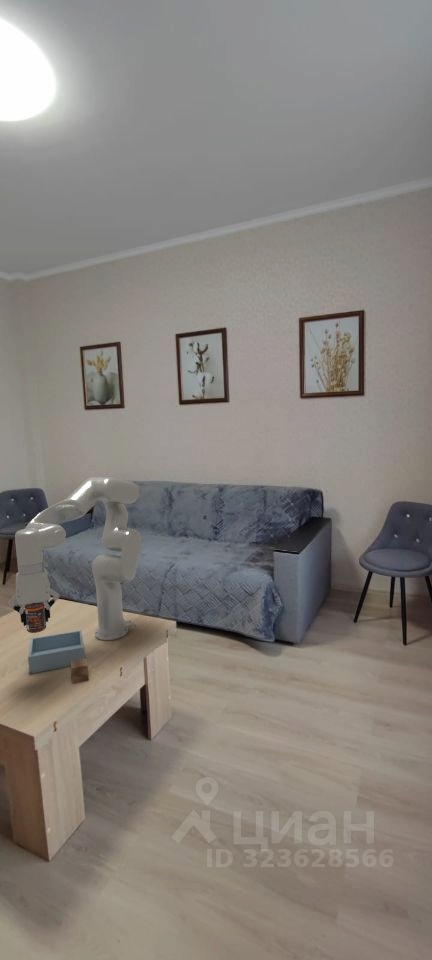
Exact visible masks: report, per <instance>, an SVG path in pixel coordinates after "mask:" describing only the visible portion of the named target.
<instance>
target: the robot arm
mask: <svg viewBox="0 0 432 960" xmlns="http://www.w3.org/2000/svg"><path fill="white" fill-rule="evenodd" d="M139 497H140V489H139V487H138V485H137V484H136V483H134V482H133V481H128V480H125V479H124V480H123V479H120V478H119V479H118V478H114V477H107V476H106V477H104V476H103V477H102V476H92V477H88V478H87V479H85V480H84V481H83V482H82V483H81V484H80V485H79V486H78V487H76V489H75V490H73V491H72V492H71V493H70V494H69V495H68V496H67V497H66V498H65V499H63V500H61V501H59V502H57V503H55V504H53V505H51V506H49V507H47V508H45V509H44V510H42V511H40V512H39V513H38V514H37V515H35V516H34V517H33V518H32V519H31V520H30V521H29V522H28V524H27V525H26V526H25V528H23V529H20V530H17V531H16V532H15V535H14V540H15V541H14V542H15V550H16V551H15V552H16V553H15V554H16V561H17V571H18V572H16V574H15V594H14V595H13V596H12V597H10V599H9V601H8V602H7V606H8V607H10V608H11V609H13V610H14V611H16V612H17V613H18V615H20V622H21V624H23V627H25V626H26V616H25V605H29V604H32V603H42V602H43V604H44V606H45V618H46V623H48V622H49V619H50V618H51V611H50V610H51V608H52V606H53V605H54V604H55V603H56V601H58V599H59V598H60V594H59V593H58V591H57V592H56V590H54V589H52V588H51V583H50V579H49V574H48V570H47V569H46V567H49V561H48V562H47V561H45V560H44V556H43V550H46V549H53V548H56V547H59V546H60V545H62V544H63V543H64V542H65V540H66V538H67V537H66V536H67V533H66V530H65V528H63V526H62V525H60V524H64V523H66V522H71V521H75V520H78V519H80V518H82V517H84V516H85V515H86V514H87V513H88V512H89V511H90V510H91V509H92V508H93V507H94V506H95V504H97V502H98V501H99V502H100V501H102V503H103V506H104V508H105V512H106V517H105V522H104V528H103V531H102V536H101V547H102V548H103V549H104V550H105V551H106V550H107V551H110V552H116V553H120V555H117V554H108V553H107V554H106V553H103V554H100V555H97V556H96V557H95V558H94V560H93V562H92V565H91V572H92V574H93V578H94V584H95V590H96V591H95V592H96V605H97V607H96V608H97V622H98V623H97V625H98V628H97V629H96V630H95V631H94V636H95V638H97V639H98V640H101V641H112V640H117V639H121V638H122V637H125V636H126V635H127V634H128V632H129V629H128V628H133V627H136V621H135V620H134V621H132V619H128V620H125V619H124V615H123V614H124V612H123V609H124V608H123V596H122V595H123V594H122V593H123V592H122V586H121V583H129V582H131V581H132V580H133V579H134V577H135V576H136V573H137V570H138V569H137V568H138V566H139V565H138V564H139V559H140V554H141V549H142V548H141V547H142V537H141V533H140V532H139V531H138V530H137V529H135V528H130V527H128V521H129V512H128V509H127V507H126V505H131V504H134V503H136V502H137V500H138V499H139ZM125 504H126V505H125ZM51 596H52V598H51ZM15 602H16V603H15Z"/></svg>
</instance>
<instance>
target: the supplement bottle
mask: <svg viewBox="0 0 432 960" xmlns="http://www.w3.org/2000/svg"><path fill="white" fill-rule="evenodd" d="M24 609H25V616H26V632H27V633H30V634H36V633H40V632H41V633H42V631H44V630H45V629H46V628H47V622H46V618H45V606H44V604H43V602H42V603H32V604H29V605H25V608H24Z"/></svg>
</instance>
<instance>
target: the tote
mask: <svg viewBox="0 0 432 960" xmlns="http://www.w3.org/2000/svg"><path fill="white" fill-rule="evenodd" d="M83 641H84V640H83V630H82V629H79V630H72V631H67V632H62V633H61V632H60V633H55V634H49V635H42V636H37V637H31V638H30V642H29V646H28V647H29V648H28V655H27V656H28V657H27V661H28V670H29V671H28V673H29V674H36V673H41V672H47V671H50V670H51V671H52V670H56V669H57V670H58V669H62V668H67V667H71V661H73V660H79V659H84V658H85V652H84V651H85V649H84V642H83Z"/></svg>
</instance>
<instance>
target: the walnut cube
mask: <svg viewBox="0 0 432 960" xmlns="http://www.w3.org/2000/svg"><path fill="white" fill-rule="evenodd" d="M70 670H71V683H72V684H75V683H80V682H85V681H89V665H88V658H87V657H86V658H85V657H84V659H79V660H73V661H71V666H70Z"/></svg>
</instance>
